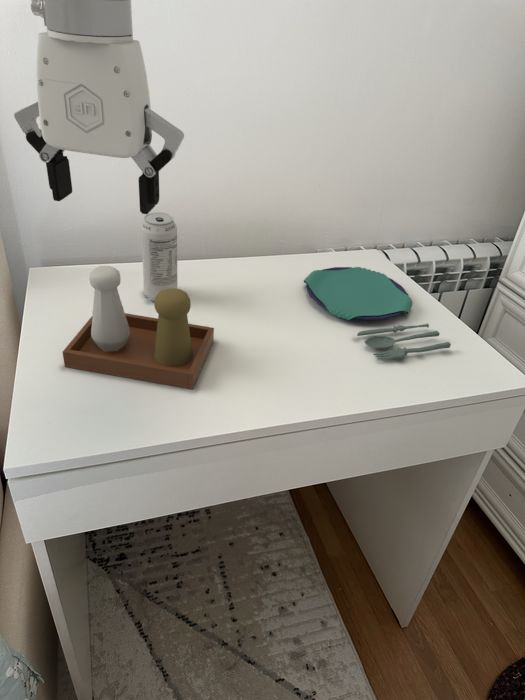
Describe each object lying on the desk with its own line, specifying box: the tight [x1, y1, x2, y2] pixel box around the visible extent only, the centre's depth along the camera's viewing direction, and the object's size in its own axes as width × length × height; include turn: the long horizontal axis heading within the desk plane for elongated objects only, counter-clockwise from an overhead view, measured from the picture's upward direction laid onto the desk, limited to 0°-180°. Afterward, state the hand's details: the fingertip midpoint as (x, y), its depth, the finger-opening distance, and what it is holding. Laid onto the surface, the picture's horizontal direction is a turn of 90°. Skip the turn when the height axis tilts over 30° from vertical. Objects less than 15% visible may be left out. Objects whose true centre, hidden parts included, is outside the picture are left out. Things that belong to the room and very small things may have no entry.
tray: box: [62, 312, 215, 390], centre depth 83 cm, size 20×13×3 cm, turn 81°
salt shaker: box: [89, 265, 130, 352], centre depth 80 cm, size 6×6×13 cm
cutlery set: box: [303, 266, 452, 361], centre depth 99 cm, size 20×30×2 cm, turn 19°
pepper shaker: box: [153, 288, 193, 367], centre depth 79 cm, size 6×6×11 cm
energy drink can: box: [140, 212, 178, 302], centre depth 94 cm, size 6×6×15 cm
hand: (105, 203), depth 58 cm, fingers open, 9 cm apart
